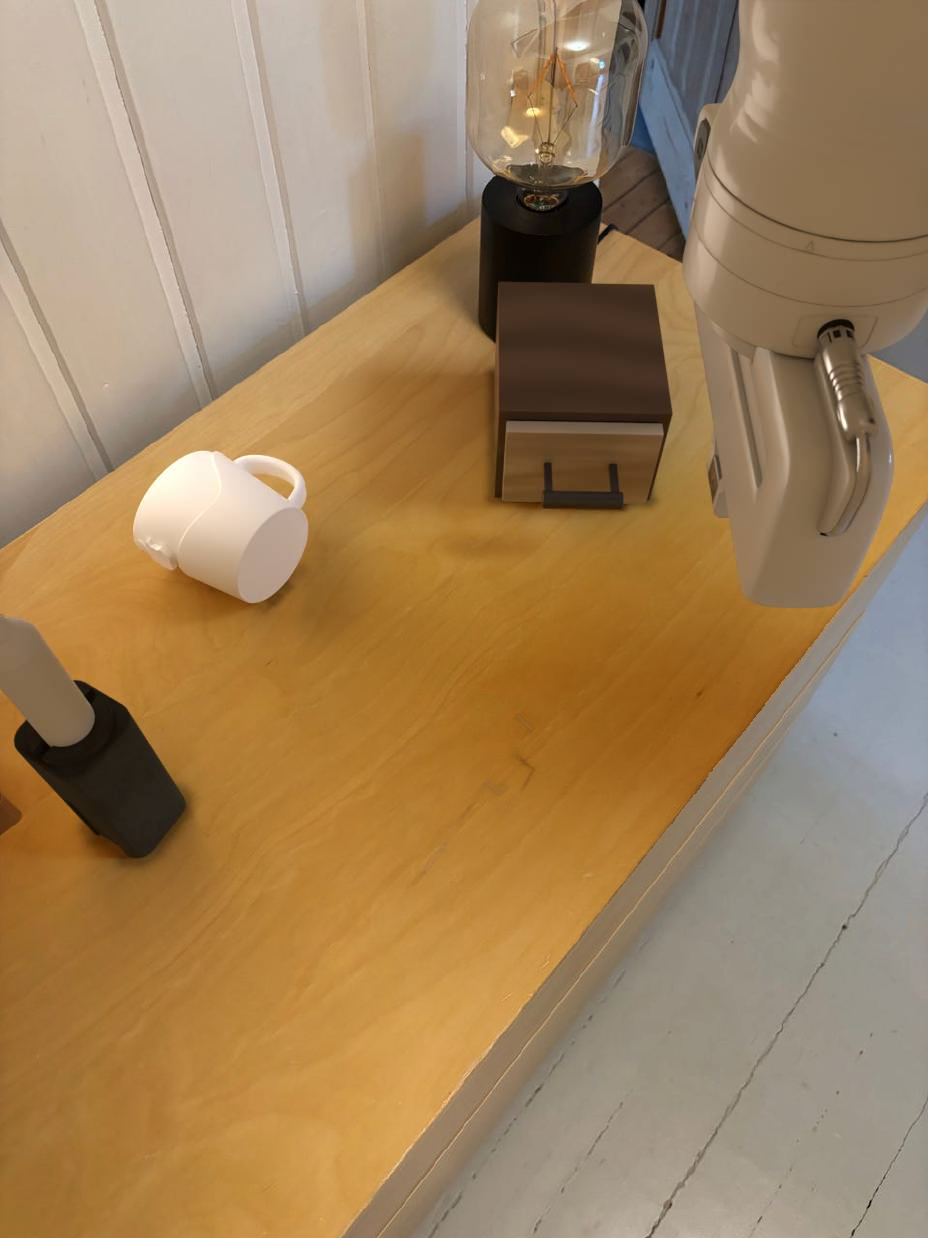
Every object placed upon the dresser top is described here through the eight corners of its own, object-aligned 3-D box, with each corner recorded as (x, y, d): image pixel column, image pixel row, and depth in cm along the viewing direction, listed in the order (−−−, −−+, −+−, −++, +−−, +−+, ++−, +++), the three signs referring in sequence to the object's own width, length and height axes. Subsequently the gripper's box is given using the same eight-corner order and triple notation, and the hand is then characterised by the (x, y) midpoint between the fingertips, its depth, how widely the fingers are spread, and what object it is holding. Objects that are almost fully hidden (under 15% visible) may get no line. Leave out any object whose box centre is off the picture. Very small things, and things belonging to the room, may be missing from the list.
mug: (241, 630, 70) (219, 567, 63) (149, 574, 73) (118, 508, 66) (339, 525, 75) (328, 457, 69) (250, 476, 78) (231, 406, 71)
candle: (193, 800, 63) (59, 586, 42) (141, 865, 60) (-28, 672, 39) (134, 764, 64) (-24, 539, 43) (82, 826, 62) (-112, 619, 41)
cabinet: (649, 500, 77) (672, 413, 69) (494, 497, 77) (498, 410, 69) (635, 374, 85) (654, 283, 77) (494, 372, 85) (498, 281, 77)
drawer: (650, 545, 73) (669, 477, 67) (502, 542, 73) (506, 474, 67) (632, 385, 83) (647, 312, 76) (501, 383, 83) (505, 310, 76)
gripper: (989, 460, 27) (835, 688, 39) (850, 85, 38) (762, 350, 50) (771, 458, 27) (682, 685, 39) (695, 84, 38) (643, 349, 50)
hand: (727, 494), depth 45 cm, fingers closed
